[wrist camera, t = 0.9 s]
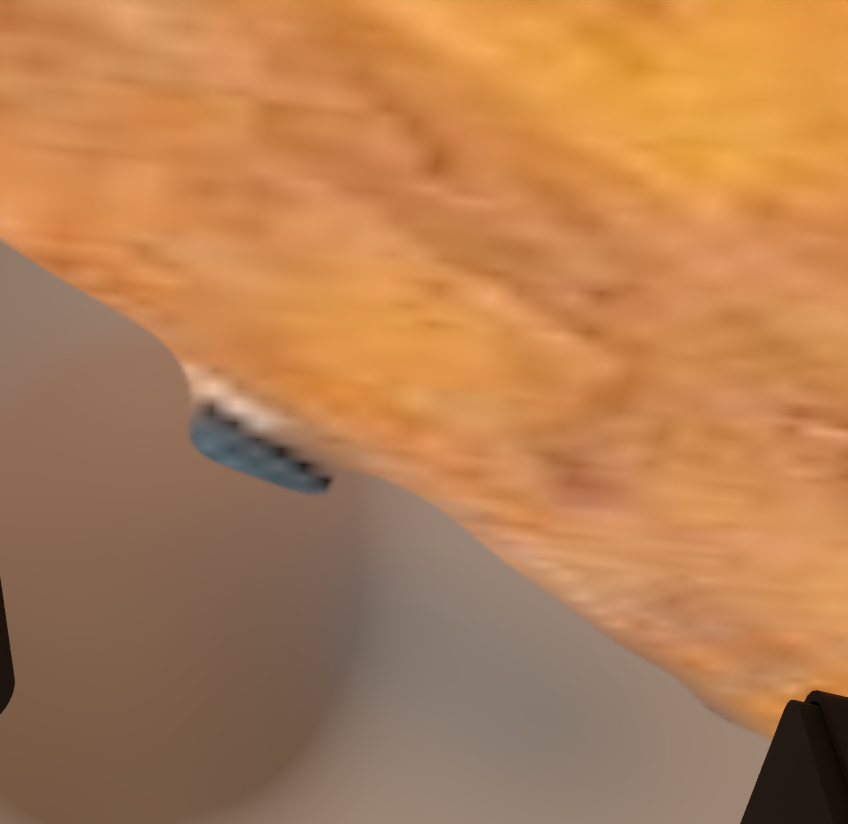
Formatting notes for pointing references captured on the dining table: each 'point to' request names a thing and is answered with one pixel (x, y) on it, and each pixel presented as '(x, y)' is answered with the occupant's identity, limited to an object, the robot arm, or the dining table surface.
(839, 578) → the dining table surface
